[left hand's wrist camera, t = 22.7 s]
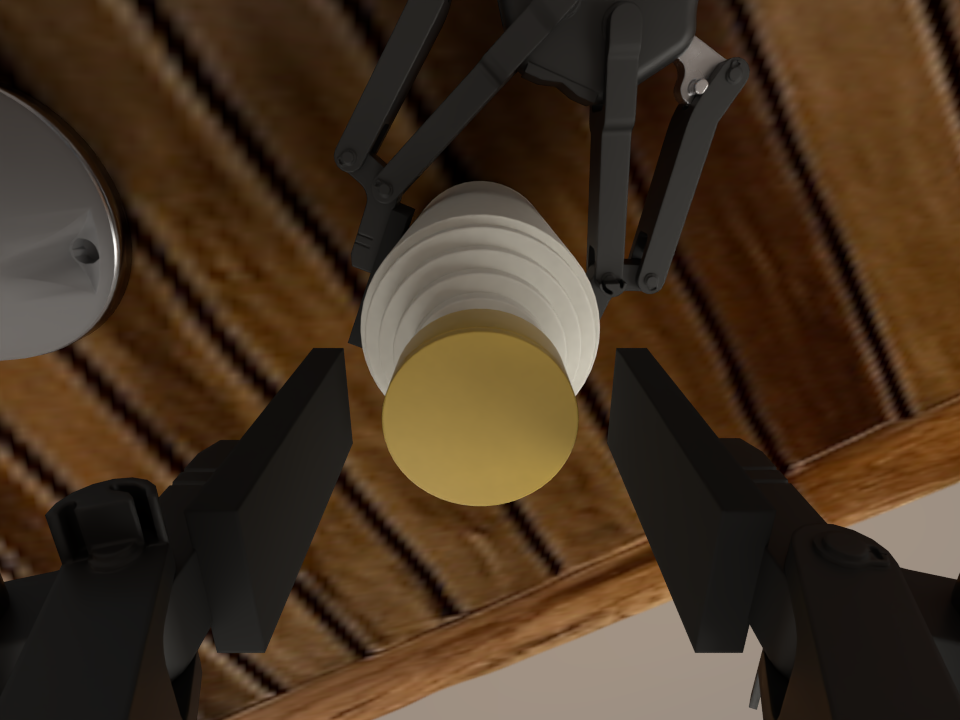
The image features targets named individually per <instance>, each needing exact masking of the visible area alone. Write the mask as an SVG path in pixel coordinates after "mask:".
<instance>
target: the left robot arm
mask: <svg viewBox="0 0 960 720" xmlns="http://www.w3.org/2000/svg"><path fill="white" fill-rule="evenodd" d="M131 262H132V244H131V234H130V229H129V224H128V219H127V216H126V212H125V209H124V206H123V203H122V201H121V198H120V196H119V193H118V191H117V189H116V187H115V185H114V183H113V181H112V179H111V177H110V176H109V174H108V172H107V171H106V169H105V167H104V166H103V164H102V163H101V161H100V160H99V159H98V157H97V156H96V154H95V153H94V152H93V150H92V149H91V148H90V147H89V146H88V144H87V143H86V142H85V141H84V140H83V139H82V138H81V137H80V135H79V134H78V133H77V132H76V131H75V130H74V129H73V128H72V127H71V126H69V125H68V124H67V123H66V122H65V121H64V120H63V119H62V118H61V117H59V116H58V115H57V114H55V113H54V112H53V111H51V110H50V109H49V108H47V107H46V106H45V105H43V104H41V103H40V102H38V101H37V100H35V99H34V98H32V97H30V96H28V95H27V94H25V93H23V92H21V91H19V90H17V89H15V88H12V87H10V86H8V85H6V84H3V83H0V360H10V359H21V358H28V357H33V356H38V355H43V354H47V353H50V352H54V351H56V350H59V349H61V348H64V347H66V346H68V345H70V344H72V343H74V342H76V341H78V340H80V339H82V338H83V337H85V336H87V335H89V334H91V333H92V332H93V331H95V330H96V329H98V328H99V327H100V326H101V325H102V324H103V323H105V322H106V321H107V320H108V318H109V317H110V316H111V315H112V314H113V313H114V311H115V309H116V308H117V306H118V305H119V303H120V301H121V299H122V297H123V295H124V293H125V290H126V287H127V284H128V281H129V276H130V272H131ZM352 444H353V441H352V431H351V420H350V410H349V400H348V389H347V379H346V369H345V359H344V348H313V349H312V350H311V352H310V353H309V354H308V355H307V357H306V358H305V359H304V360H303V362H302V363H301V364H300V365H299V367H298V368H297V369H296V370H295V372H294V373H293V374H292V375H291V377H290V378H289V379H288V380H287V382H286V383H285V384H284V385H283V387H282V388H281V389H280V390H279V392H278V393H277V394H276V395H275V397H274V398H273V399H272V401H271V402H270V403H269V404H268V406H267V407H266V408H265V409H264V411H263V412H262V413H261V414H260V416H259V417H258V418H257V419H256V421H255V422H254V423H253V424H252V426H251V427H250V428H249V429H248V431H247V432H246V433H245V434H244V436H243V437H242V438H241V439H240V440H220V441H218V442H217V443H215V444H213V445H212V446H210V447H208V448H207V449H205V450H203V451H202V452H200V453H198V454H197V455H196V457H195V458H194V459H193V460H192V461H191V462H190V463H189V464H188V466H187V467H186V468H185V469H184V472H181V473H180V474H179V476H178V477H177V478H176V479H175V480H174V481H173V485H170V486H169V487H168V488H167V489H166V490H165V491H164V492H163V493H162V495H161V496H160V497H158V493H157V489H156V486H155V485H154V484H152V483H151V482H149V481H148V480H145V479H139V478H133V477H132V478H120V479H112V480H108V481H104V482H100V483H96V484H92V485H90V486H87V487H85V488H83V489H80V490H78V491H75V492H73V493H71V494H70V495H68V496H67V497H65V498H64V499H62V500H60V501H59V502H57V503H56V504H55V505H54V506H53V507H52V508H51V509H50V510H49V511H48V512H47V514H46V515H45V516H46V519H47V522H48V525H49V528H50V531H51V533H52V536H53V539H54V542H55V545H56V548H57V551H58V553H59V556H60V559H61V562H62V566H61V568H60V570H58V571H54V572H50V573H45V574H40V575H35V576H30V577H26V578H21V579H16V580H11V581H7V582H4V581H3V579H2V576H1V574H0V720H197V714H198V705H199V696H200V687H201V678H202V669H201V662H200V658H199V654H198V649H199V647H200V645H201V643H202V641H203V640H204V638H205V636H206V634H207V632H208V631H209V629H210V627H211V629H212V633H213V637H214V641H215V645H216V650H217V653H265V651H266V649H267V646H268V644H269V642H270V639H271V637H272V634H273V632H274V630H275V627H276V625H277V623H278V620H279V618H280V615H281V613H282V611H283V608H284V606H285V603H286V601H287V599H288V596H289V594H290V591H291V589H292V587H293V584H294V582H295V580H296V577H297V575H298V572H299V570H300V568H301V565H302V563H303V560H304V558H305V556H306V553H307V551H308V549H309V546H310V544H311V541H312V539H313V537H314V534H315V532H316V529H317V527H318V525H319V522H320V520H321V518H322V515H323V513H324V510H325V508H326V506H327V503H328V501H329V498H330V496H331V494H332V491H333V489H334V487H335V484H336V482H337V479H338V477H339V475H340V472H341V470H342V467H343V465H344V463H345V460H346V458H347V456H348V453H349V451H350V448H351V446H352ZM607 444H608V446H609V448H610V451H611V453H612V456H613V458H614V460H615V463H616V465H617V467H618V470H619V472H620V475H621V477H622V479H623V482H624V484H625V487H626V489H627V491H628V494H629V496H630V498H631V501H632V503H633V506H634V508H635V510H636V513H637V515H638V518H639V520H640V522H641V525H642V527H643V529H644V532H645V534H646V537H647V539H648V541H649V544H650V546H651V549H652V551H653V553H654V556H655V558H656V560H657V563H658V565H659V568H660V570H661V572H662V575H663V577H664V580H665V582H666V584H667V587H668V589H669V591H670V594H671V596H672V599H673V601H674V603H675V606H676V608H677V611H678V613H679V615H680V618H681V620H682V622H683V625H684V627H685V630H686V632H687V634H688V637H689V639H690V642H691V644H692V646H693V649H694V651H695V653H743V650H744V645H745V641H746V637H747V633H748V629H749V624H750V626H751V627H752V629H753V631H754V633H755V635H756V637H757V638H758V640H759V642H760V644H761V645H762V647H763V650H762V654H761V658H760V662H759V666H758V670H757V674H756V677H755V681H754V685H753V689H752V693H751V698H750V704H749V707H750V708H753V709H757V707H758V703H759V699H760V697H761V704H762V712H763V720H960V574H959V576H958V579H957V580H956V579H951V578H946V577H942V576H937V575H932V574H927V573H922V572H917V571H913V570H908V569H904V568H900V567H899V565H898V563H897V562H896V561H895V559H894V558H893V557H892V555H891V554H890V553H889V551H887V550H886V549H885V548H883V547H882V546H881V545H879V544H878V543H877V542H875V541H874V540H873V539H871V538H869V537H866V536H865V535H862V534H860V533H858V532H856V531H854V530H851V529H848V528H844V527H841V526H837V525H834V524H827V523H826V522H825V521H824V520H823V518H822V517H821V516H820V515H819V514H818V513H817V512H816V511H815V510H814V509H813V507H812V506H811V505H810V504H809V503H808V502H807V501H806V500H805V499H804V497H803V496H802V495H801V494H800V493H799V492H798V491H797V490H796V489H795V487H794V486H793V485H792V484H791V483H788V480H787V479H786V478H785V476H784V475H783V474H782V473H781V472H780V471H779V470H776V466H775V465H774V464H773V463H772V462H771V461H770V460H769V459H768V458H767V456H766V455H765V454H764V453H763V452H762V451H760V450H759V449H757V448H755V447H754V446H752V445H750V444H749V443H747V442H745V441H744V440H742V439H740V438H718V437H717V436H716V434H715V433H714V432H713V431H712V429H711V428H710V427H709V426H708V424H707V423H706V422H705V421H704V419H703V418H702V417H701V416H700V414H699V413H698V412H697V411H696V409H695V408H694V407H693V406H692V404H691V403H690V402H689V401H688V399H687V398H686V397H685V395H684V394H683V393H682V392H681V390H680V389H679V388H678V387H677V385H676V384H675V383H674V382H673V380H672V379H671V378H670V377H669V375H668V374H667V373H666V372H665V370H664V369H663V368H662V367H661V365H660V364H659V363H658V362H657V360H656V359H655V358H654V357H653V355H652V354H651V353H650V352H649V350H648V349H647V348H616V359H615V369H614V379H613V390H612V400H611V410H610V420H609V431H608V441H607Z"/></svg>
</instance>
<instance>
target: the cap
mask: <svg viewBox="0 0 960 720" xmlns="http://www.w3.org/2000/svg"><path fill="white" fill-rule="evenodd" d="M578 422H579V415H578V405H577V401H576V396H575V393H574V391H573V388H572V385H571V383H570V380H569V377H568V374H567V372H566V369H565V366H564V364H563V361H562V358H561V356H560V354H559V353H558V351H557V349H556V347H555V346H554V345H553V343H552V342H551V341H550V339H549V338H548V337H547V336H546V335H545V334H544V333H543V332H542V331H541V330H539V329H538V328H537V327H535V326H534V325H533V324H531V323H530V322H528V321H526V320H524V319H523V318H520V317H518V316H516V315H513V314H511V313H507V312H503V311H500V310H493V309H468V310H461V311H457V312H453V313H450V314H447V315H445V316H442V317H440V318H438V319H436V320H434V321H433V322H431V323H429V324H428V325H426V326H425V327H424V328H422V329H421V330H420V331H419V332H418V333H417V334H416V335H415V336H414V337H413V338H412V339H411V340H410V341H409V343H408V344H407V345H406V347H405V348H404V350H403V352H402V353H401V355H400V357H399V360H398V362H397V365H396V367H395V370H394V373H393V375H392V378H391V381H390V384H389V386H388V389H387V392H386V394H385V399H384V403H383V409H382V429H383V434H384V438H385V442H386V444H387V447H388V450H389V452H390V454H391V456H392V458H393V460H394V461H395V463H396V464H397V465H398V467H399V468H400V470H401V471H402V472H403V473H404V474H405V475H406V476H407V477H408V478H409V479H410V480H411V481H412V482H413V483H415V484H416V485H417V486H418V487H420V488H421V489H423V490H425V491H426V492H428V493H430V494H432V495H434V496H436V497H438V498H441V499H443V500H446V501H449V502H453V503H457V504H462V505H471V506H489V505H498V504H503V503H508V502H511V501H514V500H517V499H520V498H522V497H524V496H527V495H529V494H531V493H533V492H534V491H536V490H537V489H539V488H541V487H542V486H543V485H545V484H546V483H547V482H548V481H550V480H551V479H552V478H553V477H554V476H555V475H556V474H557V473H558V471H559V470H560V469H561V467H562V466H563V465H564V463H565V462H566V460H567V458H568V457H569V455H570V453H571V451H572V448H573V446H574V443H575V440H576V436H577V432H578Z"/></svg>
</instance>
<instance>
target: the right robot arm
mask: <svg viewBox="0 0 960 720" xmlns="http://www.w3.org/2000/svg"><path fill="white" fill-rule="evenodd" d="M451 1H452V0H408V2H407V4H406V6H405V8H404V10H403V12H402V14H401V16H400V18H399V20H398V22H397V24H396V26H395V28H394V31H393V33H392V35H391V37H390V39H389V41H388V43H387V45H386V47H385V49H384V51H383V53H382V55H381V57H380V59H379V61H378V63H377V65H376V67H375V69H374V71H373V74H372V76H371V78H370V80H369V82H368V84H367V86H366V88H365V90H364V92H363V94H362V96H361V98H360V100H359V102H358V104H357V106H356V108H355V110H354V112H353V114H352V117H351V119H350V121H349V123H348V125H347V127H346V129H345V131H344V133H343V135H342V137H341V139H340V141H339V143H338V145H337V147H336V149H335V153H334V159H335V162H336V164H337V166H338V167H339V168H340V169H341V170H342V171H345V172H348V173H349V174H350V175H351V176H352V177H353V178H354V179H356V180H357V181H358V182H359V183H360V184H361V185H362V186H363V187H364V189H365V191H366V194H367V204H366V208H365V211H364V214H363V217H362V221H361V224H360V227H359V230H358V234H357V237H356V240H355V243H354V246H353V249H352V253H351V259H352V266H354V267H356V268H359V269H362V270H364V271H367V272H369V273H371V274H370V277H369V280H368V283H367V286H366V289H365V292H364V295H363V298H362V301H361V304H360V308H359V311H358V314H357V317H356V320H355V323H354V326H353V329H352V332H351V335H350V338H349V341H348V343H350V344H353V345H356V346H358V347H361V348H363V347H362V340H361V314H362V308H363V302H364V299H365V296H366V293H367V290H368V287H369V285H370V283H371V280H372V278H373V276H374V274H375V272H376V271H377V270H378V268H379V267H380V265H381V264H382V262H383V261H384V259H385V258H386V257H387V255H388V254H389V253H390V252H391V250H392V249H393V248H394V247H395V245H396V244H397V243H398V242H399V240H400V239H401V238H402V237H403V235H404V234H405V233H406V232H407V230H408V228H409V225H410V223H411V220H412V217H413V214H414V211H415V209H414V208H411V207H409V206H406V205H404V204H401V203H400V201H401V198H402V195H403V194H404V192H405V191H406V190H407V189H408V188H409V187H410V186H411V185H412V184H413V183H414V182H415V181H416V180H417V178H418V177H419V176H420V175H421V174H422V173H423V172H424V171H425V170H426V169H427V168H428V167H429V166H430V164H431V163H432V162H433V161H434V160H435V159H436V158H437V157H438V156H439V155H440V154H441V153H442V152H443V150H444V149H445V148H446V147H447V146H448V145H449V144H450V143H451V142H452V141H453V140H454V139H455V137H456V136H457V135H458V134H459V133H460V132H461V131H462V130H463V129H464V128H465V127H466V126H467V125H468V123H469V122H470V121H471V120H472V119H473V118H474V117H475V116H476V115H477V114H478V113H479V112H480V111H481V109H482V108H483V107H484V106H485V105H486V104H487V103H488V102H489V101H490V100H491V99H492V98H493V97H494V95H495V94H496V93H497V92H498V91H499V90H500V89H501V88H502V87H503V86H504V85H505V84H506V83H507V82H508V81H509V80H510V79H511V78H512V77H513V76H514V74H515V73H516V72H517V71H518V72H519V73H520V74H522V76H521V77H522V78H524V79H526V80H529V81H531V82H533V83H535V84H538V85H546V86H554V87H557V88H558V89H559V90H560V91H561V92H563V93H564V94H565V95H566V96H567V97H568V98H570V99H571V100H573V101H575V102H578V103H580V104H582V105H584V106H588V105H590V118H589V125H590V131H591V149H590V179H589V209H588V238H587V268H586V269H587V272H586V276H587V278H588V280H589V281H590V284H591V286H592V289H593V292H594V294H595V297H596V302H597V306H598V311H599V320H600V318H601V316H602V314H603V312H604V310H605V308H606V306H607V304H608V302H609V300H610V299H611V297H615V296H618V295H620V294H621V293H623V291H642V292H645V293H647V294H653V293H656V292H658V291H659V290H660V289H661V288H662V286H663V285H664V282H665V279H666V276H667V273H668V270H669V267H670V264H671V261H672V258H673V255H674V252H675V249H676V246H677V243H678V240H679V237H680V234H681V231H682V228H683V225H684V222H685V219H686V216H687V213H688V211H689V208H690V205H691V202H692V199H693V196H694V193H695V190H696V187H697V184H698V181H699V178H700V175H701V172H702V169H703V166H704V163H705V160H706V157H707V154H708V151H709V148H710V145H711V142H712V139H713V136H714V133H715V130H716V127H717V124H718V121H719V120H720V119H721V117H722V116H723V114H724V113H725V112H726V110H727V109H728V107H729V106H730V105H731V103H732V102H733V100H734V99H735V98H736V96H737V95H738V93H739V92H740V90H741V89H742V88H743V86H744V85H745V83H746V82H747V80H748V77H749V71H750V70H749V66H748V64H747V62H746V61H745V60H744V59H742V58H740V57H736V58H730V59H724V58H723V57H722V56H721V55H719V54H718V53H717V52H715V51H714V50H713V49H711V48H710V47H709V46H708V45H706V44H705V43H704V42H702V41H701V40H700V39H698V38H697V37H696V36H695V32H696V12H697V5H698V0H497V1H498V6H499V10H500V15H501V20H502V25H503V30H504V33H503V34H502V36H501V37H500V38H499V39H498V40H497V41H496V42H495V43H494V44H493V46H492V47H491V48H490V49H489V50H488V51H487V52H486V53H485V55H484V56H483V57H482V59H481V60H480V61H479V63H478V64H477V65H476V66H475V67H474V68H473V70H472V71H471V72H470V73H469V74H468V75H467V76H466V77H465V78H464V80H463V81H462V82H461V83H460V84H459V85H458V86H457V87H456V88H455V90H454V91H453V92H452V93H451V94H450V95H449V96H448V97H447V98H446V99H445V101H444V102H443V103H442V104H441V105H440V106H439V107H438V108H437V109H436V111H435V112H434V113H433V114H432V115H431V116H430V117H429V118H428V119H427V121H426V122H425V123H424V124H423V125H422V126H421V127H420V128H419V129H418V131H417V132H416V133H415V134H414V135H413V136H412V137H411V138H410V139H409V141H408V142H407V143H406V144H405V145H404V146H403V147H402V148H401V149H400V151H399V152H398V153H397V154H396V155H395V156H394V157H393V158H392V159H391V161H390V162H389V163H388V164H386V163H385V162H384V161H383V160H382V159H381V158H380V157H378V156H377V155H376V154H377V152H378V150H379V148H380V146H381V144H382V142H383V140H384V138H385V137H386V135H387V133H388V131H389V129H390V127H391V125H392V123H393V121H394V119H395V117H396V115H397V113H398V111H399V109H400V107H401V106H402V104H403V102H404V100H405V98H406V96H407V94H408V92H409V90H410V88H411V86H412V84H413V82H414V80H415V78H416V76H417V74H418V73H419V71H420V69H421V67H422V65H423V63H424V61H425V59H426V57H427V55H428V53H429V51H430V49H431V47H432V45H433V43H434V41H435V40H436V38H437V36H438V34H439V32H440V30H441V28H442V26H443V24H444V21H445V19H446V17H447V14H448V11H449V8H450V5H451ZM672 62H673V64H674V65H675V66H676V68H677V72H678V78H677V81H676V84H675V87H674V97H675V99H676V101H677V102H678V103H679V105H678V106H677V108H676V110H675V112H674V114H673V116H672V118H671V121H670V124H669V127H668V130H667V133H666V136H665V139H664V143H663V146H662V149H661V153H660V156H659V159H658V162H657V166H656V169H655V172H654V175H653V179H652V182H651V185H650V189H649V192H648V195H647V198H646V202H645V205H644V208H643V212H642V215H641V218H640V221H639V225H638V228H637V231H636V235H635V238H634V241H633V244H632V248H631V251H630V254H629V258H628V259H624V248H625V231H626V214H627V197H628V180H629V163H630V145H631V132H632V129H633V126H634V123H635V114H636V98H637V85H639V84H640V83H642V82H643V81H645V80H646V79H648V78H649V77H651V76H652V75H654V74H655V73H657V72H658V71H660V70H661V69H663V68H664V67H666V66H667V65H669V64H670V63H672Z"/></svg>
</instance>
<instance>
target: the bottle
mask: <svg viewBox="0 0 960 720" xmlns="http://www.w3.org/2000/svg"><path fill="white" fill-rule="evenodd" d="M468 309H493V310H500V311H503V312H507V313H511V314H513V315H516V316H518V317H520V318H523V319H524V320H526V321H528V322H530V323H531V324H533V325H534V326H535V327H537V328H538V329H539V330H541V331H542V332H543V333H544V334H545V335H546V336H547V337H548V338H549V339H550V341H551V342H552V343H553V345H554V346H555V347H556V349H557V351H558V353H559V354H560V356H561V358H562V361H563V364H564V366H565V369H566V372H567V374H568V377H569V380H570V383H571V385H572V388H573V391H574V393H575V396H576V395H577V393H578V392H579V390H580V389H581V387H582V386H583V384H584V383H585V381H586V379H587V377H588V375H589V373H590V371H591V369H592V366H593V363H594V360H595V357H596V353H597V348H598V343H599V332H600V322H599V311H598V306H597V302H596V297H595V294H594V292H593V289H592V286H591V284H590V281H589V280H588V278H587V276H586V274H585V272H584V270H583V269H582V267H581V266H580V265H579V263H578V262H577V260H576V259H575V258H574V256H573V255H572V254H571V253H570V251H569V250H568V249H567V248H566V246H565V245H564V244H563V243H562V241H561V240H560V239H559V238H558V236H557V235H556V234H555V233H554V231H553V230H552V229H551V228H550V226H549V225H548V224H547V223H546V221H545V220H544V219H543V218H542V216H541V215H540V214H539V213H538V211H537V210H536V209H535V208H534V206H533V205H532V204H531V203H530V202H529V201H528V200H527V199H526V198H525V197H523V196H522V195H521V194H520V193H518V192H517V191H515V190H513V189H511V188H509V187H507V186H504V185H502V184H498V183H494V182H488V181H472V182H466V183H462V184H459V185H455V186H453V187H451V188H449V189H447V190H445V191H444V192H442V193H441V194H439V195H438V196H437V197H436V198H434V199H433V200H432V201H431V202H430V203H429V204H428V205H427V207H426V208H425V209H424V210H423V212H422V213H421V214H420V215H419V217H418V218H417V219H416V220H415V222H414V223H413V224H412V225H411V227H410V228H409V229H408V230H407V232H406V233H405V234H404V235H403V237H402V238H401V239H400V240H399V242H398V243H397V244H396V245H395V247H394V248H393V249H392V250H391V252H390V253H389V254H388V255H387V257H386V258H385V259H384V261H383V262H382V264H381V265H380V267H379V268H378V270H377V271H376V272H375V274H374V276H373V278H372V280H371V283H370V285H369V287H368V290H367V293H366V296H365V299H364V302H363V308H362V314H361V340H362V347H363V352H364V356H365V360H366V362H367V365H368V367H369V370H370V373H371V375H372V376H373V378H374V380H375V382H376V384H377V385H378V387H379V388H380V390H381V391H382V393H383V394H384V395H385V394H386V392H387V389H388V386H389V384H390V381H391V378H392V375H393V373H394V370H395V367H396V365H397V362H398V360H399V357H400V355H401V353H402V352H403V350H404V348H405V347H406V345H407V344H408V343H409V341H410V340H411V339H412V338H413V337H414V336H415V335H416V334H417V333H418V332H419V331H420V330H421V329H422V328H424V327H425V326H426V325H428V324H429V323H431V322H433V321H434V320H436V319H438V318H440V317H442V316H445V315H447V314H450V313H453V312H457V311H461V310H468Z"/></svg>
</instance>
